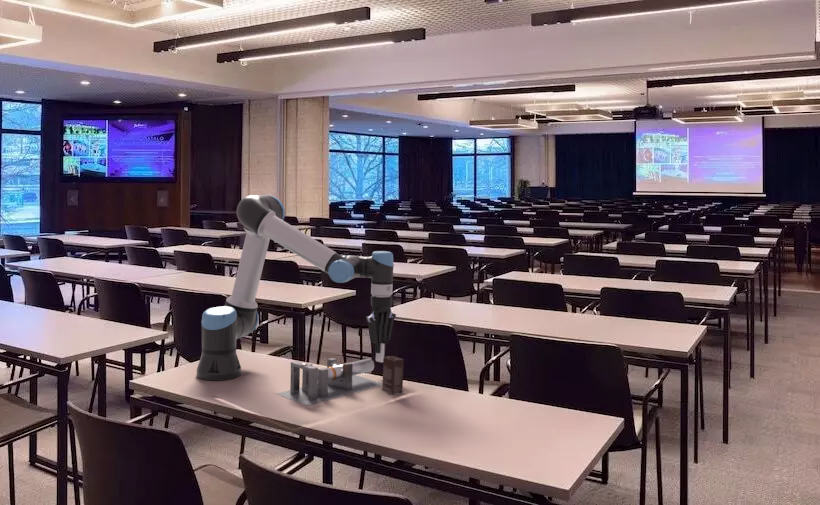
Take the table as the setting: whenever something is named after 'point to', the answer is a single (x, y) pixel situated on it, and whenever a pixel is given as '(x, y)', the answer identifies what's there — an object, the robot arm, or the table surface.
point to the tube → (357, 368)
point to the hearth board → (332, 391)
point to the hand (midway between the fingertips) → (379, 361)
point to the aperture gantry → (311, 383)
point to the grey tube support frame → (346, 381)
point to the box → (392, 375)
